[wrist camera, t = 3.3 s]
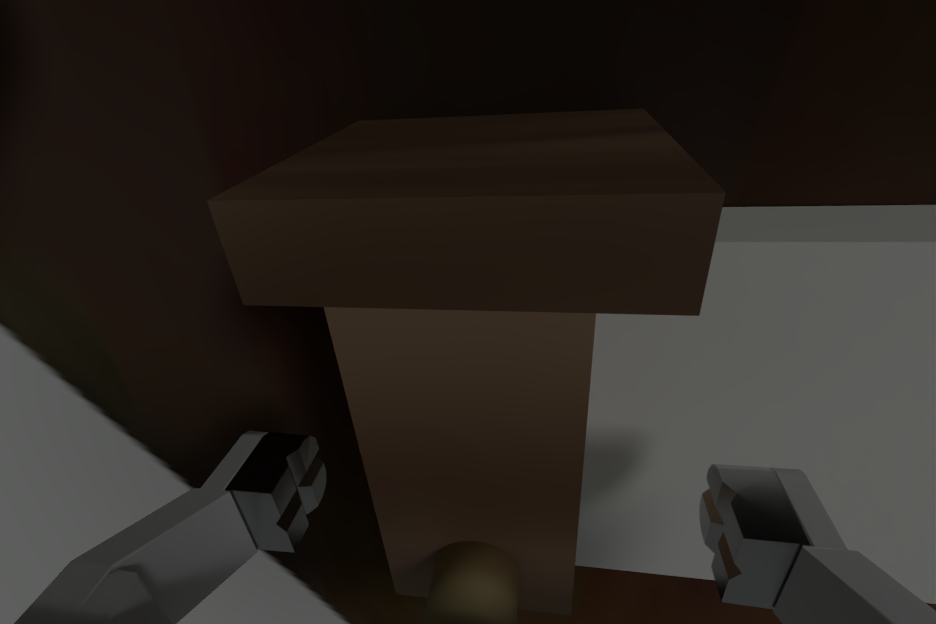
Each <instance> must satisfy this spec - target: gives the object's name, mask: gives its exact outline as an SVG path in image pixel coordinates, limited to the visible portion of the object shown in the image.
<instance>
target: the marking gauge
mask: <svg viewBox="0 0 936 624" xmlns="http://www.w3.org/2000/svg"><path fill="white" fill-rule="evenodd" d="M724 197H725V192H724V191H723V190H722V189H721V188H720V187H719V186H718V185H717V184H716V182H715V181H714V180H713V179H712V178H711V177H710V176H709V175H708V174H707V173H706V172H705V171H704V170H703V169H702V168H701V167H700V166H699V165H698V164H697V163H696V162H695V161H694V160H693V159H692V158H691V157H690V156H689V155H688V154H687V153H686V152H685V151H684V150H683V149H682V148H681V147H680V145H679V144H678V143H677V142H676V141H675V140H674V139H673V138H672V137H671V136H670V135H669V134H668V133H667V132H666V131H665V130H664V129H663V128H662V127H661V126H660V125H659V124H658V123H657V122H656V121H655V120H654V119H653V118H652V117H651V116H650V115H649V114H648V113H647V112H646V111H645V110H644V109H643V108H642V109H619V110H596V111H573V112H550V113H527V114H504V115H481V116H458V117H435V118H412V119H389V120H366V121H358V122H356V123H354V124H352V125H350V126H348V127H346V128H344V129H342V130H340V131H339V132H337V133H335V134H333V135H331V136H329V137H327V138H325V139H323V140H321V141H320V142H318V143H316V144H314V145H312V146H310V147H308V148H306V149H304V150H302V151H301V152H299V153H297V154H295V155H293V156H291V157H289V158H287V159H285V160H283V161H282V162H280V163H278V164H276V165H274V166H272V167H270V168H268V169H266V170H265V171H263V172H261V173H259V174H257V175H255V176H253V177H251V178H249V179H247V180H246V181H244V182H242V183H240V184H238V185H236V186H234V187H232V188H230V189H228V190H227V191H225V192H223V193H221V194H219V195H217V196H215V197H213V198H211V199H209V200H208V201H207V203H208V206H209V209H210V211H211V214H212V217H213V220H214V223H215V226H216V228H217V231H218V234H219V237H220V240H221V243H222V246H223V248H224V251H225V254H226V257H227V260H228V263H229V266H230V268H231V271H232V274H233V277H234V280H235V283H236V286H237V288H238V291H239V294H240V297H241V300H242V303H243V305H256V306H298V307H324V310H325V314H326V318H327V322H328V326H329V330H330V334H331V338H332V342H333V346H334V350H335V354H336V358H337V362H338V366H339V370H340V374H341V378H342V382H343V386H344V390H345V394H346V398H347V401H348V405H349V409H350V413H351V417H352V421H353V425H354V429H355V433H356V437H357V441H358V445H359V449H360V453H361V457H362V461H363V465H364V469H365V473H366V477H367V481H368V485H369V489H370V493H371V497H372V501H373V504H374V508H375V512H376V516H377V520H378V524H379V528H380V532H381V536H382V540H383V544H384V548H385V552H386V556H387V560H388V564H389V568H390V572H391V576H392V580H393V584H394V588H395V592H396V594H401V595H409V596H417V597H425V598H427V603H426V607H425V612H424V617H423V621H422V624H516V619H517V609H522V610H530V611H538V612H546V613H555V614H563V615H571V607H572V595H573V583H574V571H575V560H576V548H577V536H578V524H579V512H580V500H581V488H582V476H583V464H584V452H585V440H586V428H587V416H588V404H589V393H590V381H591V369H592V357H593V345H594V333H595V321H596V313H598V314H641V315H683V316H699V315H700V310H701V305H702V301H703V296H704V291H705V287H706V282H707V277H708V273H709V268H710V263H711V258H712V254H713V249H714V244H715V240H716V235H717V230H718V226H719V221H720V216H721V211H722V207H723V202H724Z"/></svg>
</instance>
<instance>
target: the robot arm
mask: <svg viewBox="0 0 936 624" xmlns="http://www.w3.org/2000/svg"><path fill="white" fill-rule="evenodd" d="M318 450H319V446H318V444H317V441H316V438H315V437H312V436H305V435H295V434H285V433H274V432H260V431H248V432H246V433H244V434H242V436H241V437H240V438H239V439H238V441H237V442H236V443H235V445H234V446H233V447H232V448H231V450H230V451H229V452H228V454H227V455H226V456H225V457H224V459H223V460H222V461H221V463H220V464H219V465H218V466H217V468H216V469H215V470H214V472H213V473H212V474H211V475H210V477H209V478H208V479H207V481H206V482H205V483H204V484H203V486H202V487H201V488H193V489H192V490H190V491H188V492H187V493H185V494H183V495H181V496H180V497H178V498H176V499H175V500H173V501H171V502H170V503H168V504H166V505H165V506H163V507H161V508H160V509H158V510H156V511H155V512H153V513H151V514H150V515H148V516H146V517H145V518H143V519H141V520H140V521H138V522H136V523H135V524H133V525H131V526H129V527H128V528H126V529H125V530H123V531H121V532H119V533H118V534H116V535H114V536H113V537H111V538H109V539H108V540H106V541H104V542H103V543H101V544H99V545H98V546H96V547H94V548H92V549H91V550H89V551H87V552H86V553H84V554H82V555H81V556H79V557H77V558H76V559H74V560H72V561H71V562H70V563H69V564H68V565H67V566H66V567H65V568H64V569H63V571H62V572H61V573H60V574H59V575H58V576H57V577H56V578H55V580H53V581H52V583H51V584H50V585H49V586H48V587H47V588H46V589H45V590H44V591H43V593H42V594H41V595H40V596H39V597H38V598H37V599H36V600H35V601H34V602H33V603H32V605H31V606H30V607H29V608H28V609H27V610H26V611H25V612H24V613H23V614H22V615H21V617H20V618H19V619H18V620H17V621H16V622H15V623H14V624H176V623H177V622H179V621H180V620H181V619H182V618H183V617H184V616H185V615H186V614H188V613H189V612H190V611H191V610H192V609H193V608H194V607H196V606H197V605H198V604H199V603H200V602H201V601H202V600H203V599H205V597H207V596H208V595H209V594H210V593H211V592H212V591H214V590H215V589H216V588H217V587H218V586H219V585H220V584H221V583H223V582H224V581H225V580H226V579H227V578H228V577H229V576H231V575H232V574H233V573H234V572H235V571H236V570H237V569H238V568H240V567H241V566H242V565H243V564H244V563H245V562H246V561H247V560H248V559H250V558H251V557H252V556H253V555H254V554H255V553H256V552H257V549H259V550H271V551H283V552H295V551H296V549H297V547H298V545H299V543H300V541H301V539H302V537H303V535H304V533H305V531H306V529H307V527H308V525H309V522H308V518H307V514H308V513H310V512H311V511H312V510H314V509H315V508H316V507H318V505H319V503H320V501H321V499H322V497H323V495H324V490H325V485H326V469H325V466H324V463H323V462H322V461H321V460H320V459H319V458H318V457H317V456H315V455H316V453H317V452H318ZM706 479H707V482H708V485H709V489H708V490H706V491H705V492H703V493H702V496H701V501H700V505H699V520H700V526H701V532H702V536H703V539H704V543H705V545H706V546H707V547H708V548H709V549H710V550H711V551H712V552H713V553H714V554H715V555H714V558H713V561H712V565H711V568H712V571H713V575H714V578H715V582H716V585H717V588H718V592H719V595H720V599H721V602H726V603H733V604H740V605H747V606H754V607H761V608H768V609H774V610H773V613H774V614H775V615H776V616H777V617H778V618H779V620H780V621H781V622H782V623H783V624H936V611H935V610H934V609H932V608H931V607H930V606H928V605H927V604H926V603H925V602H923V601H922V600H921V599H919V598H918V597H917V596H915V595H914V594H913V593H912V592H910V591H909V590H908V589H906V588H905V587H904V586H903V585H901V584H900V583H899V582H897V581H896V580H895V579H894V578H892V577H891V576H890V575H888V574H887V573H886V572H884V571H883V570H882V569H881V568H879V567H878V566H877V565H875V564H874V563H873V562H872V561H870V560H869V559H868V558H866V557H865V556H864V555H863V554H861V553H860V552H859V551H853V550H848V549H847V547H846V545H845V543H844V541H843V540H842V538H841V536H840V534H839V533H838V531H837V529H836V527H835V525H834V524H833V522H832V520H831V518H830V517H829V515H828V513H827V511H826V510H825V508H824V506H823V504H822V502H821V501H820V499H819V497H818V495H817V494H816V492H815V490H814V488H813V487H812V485H811V483H810V481H809V479H808V478H807V476H806V474H805V473H804V472H802V471H801V470H800V469H785V468H767V467H755V466H739V465H722V464H712V465H711V466H710V467H709V469H708V473H707V476H706Z"/></svg>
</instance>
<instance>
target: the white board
mask: <svg viewBox="0 0 936 624" xmlns="http://www.w3.org/2000/svg"><path fill="white" fill-rule="evenodd" d="M712 464H722V465H739V466H755V467H767V468H785V469H800V470H801V471H802V472H804V473H805V474H806V476H807V478H808V479H809V481H810V483H811V485H812V487H813V488H814V490H815V492H816V494H817V495H818V497H819V499H820V501H821V502H822V504H823V506H824V508H825V510H826V511H827V513H828V515H829V517H830V518H831V520H832V522H833V524H834V525H835V527H836V529H837V531H838V533H839V534H840V536H841V538H842V540H843V541H844V543H845V545H846V547H847V549H848V550H853V551H859V552H860V553H861V554H863V555H864V556H865V557H866V558H868V559H869V560H870V561H872V562H873V563H874V564H875V565H877V566H878V567H879V568H881V569H882V570H883V571H884V572H886V573H887V574H888V575H890V576H891V577H892V578H894V579H895V580H896V581H897V582H899V583H900V584H901V585H903V586H904V587H905V588H906V589H908V590H909V591H910V592H912V593H913V594H914V595H915V596H917V597H918V598H919V599H921V600H922V601H923V602H925V603H933V604H936V205H886V206H794V207H722V211H721V216H720V221H719V226H718V230H717V235H716V240H715V244H714V249H713V254H712V258H711V263H710V268H709V273H708V277H707V282H706V287H705V291H704V296H703V301H702V305H701V310H700V315H699V316H683V315H641V314H598V313H596V321H595V333H594V345H593V357H592V369H591V381H590V393H589V404H588V416H587V428H586V440H585V452H584V464H583V476H582V488H581V500H580V512H579V524H578V536H577V548H576V560H575V565H578V566H588V567H597V568H606V569H616V570H625V571H634V572H644V573H653V574H662V575H672V576H681V577H690V578H700V579H709V580H715V578H714V575H713V571H712V568H711V565H712V561H713V558H714V555H715V554H714V553H713V552H712V551H711V550H710V549H709V548H708V547H707V546H706V545H705V543H704V539H703V536H702V532H701V526H700V520H699V505H700V501H701V496H702V493H703V492H705V491H706V490H708V489H709V485H708V482H707V479H706V476H707V473H708V469H709V467H710V466H711V465H712Z"/></svg>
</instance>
